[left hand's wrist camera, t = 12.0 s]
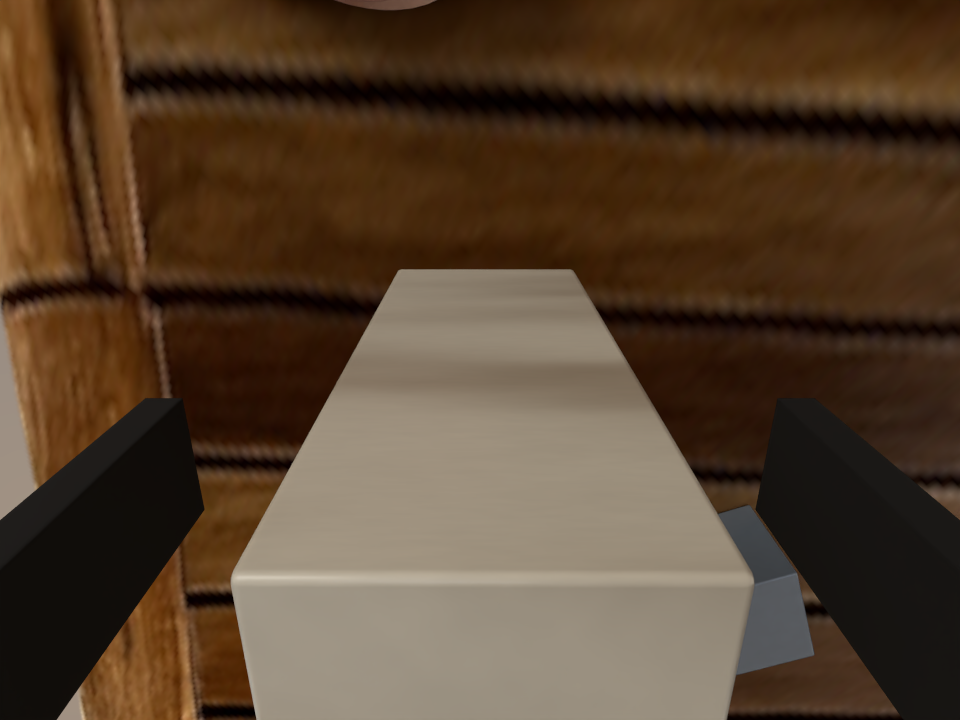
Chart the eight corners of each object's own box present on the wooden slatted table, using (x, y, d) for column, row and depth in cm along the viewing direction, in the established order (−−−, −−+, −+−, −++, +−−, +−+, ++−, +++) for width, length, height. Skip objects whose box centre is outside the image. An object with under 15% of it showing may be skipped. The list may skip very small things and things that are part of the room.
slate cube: (749, 503, 31) (797, 573, 26) (767, 578, 32) (815, 656, 28) (652, 531, 31) (682, 604, 27) (674, 603, 33) (706, 683, 28)
